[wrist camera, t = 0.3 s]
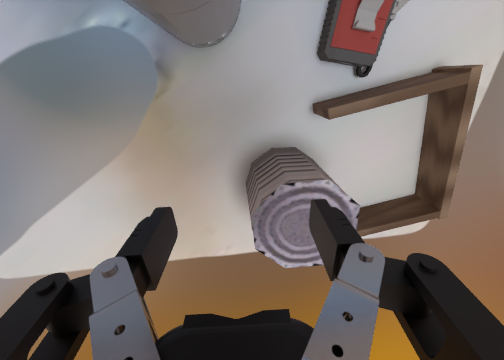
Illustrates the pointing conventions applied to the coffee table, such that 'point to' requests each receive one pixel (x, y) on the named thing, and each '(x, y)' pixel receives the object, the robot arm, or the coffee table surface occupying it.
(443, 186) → the walnut bay
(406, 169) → the coffee table surface
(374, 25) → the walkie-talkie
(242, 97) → the coffee table surface
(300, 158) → the can
